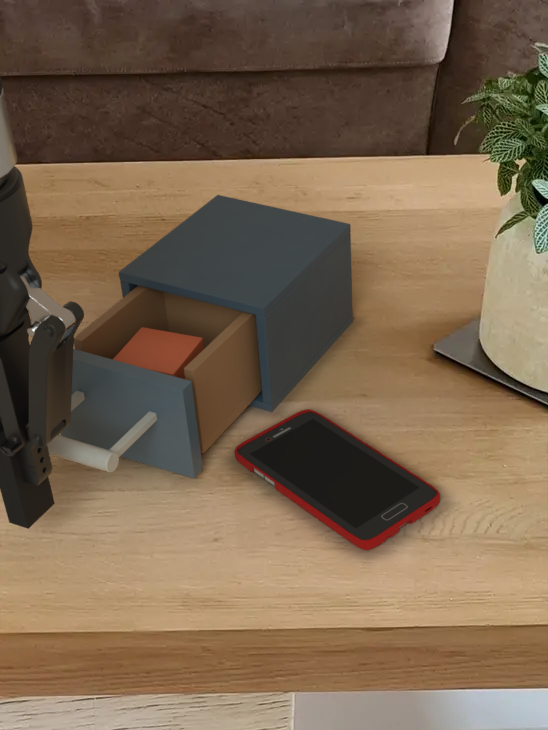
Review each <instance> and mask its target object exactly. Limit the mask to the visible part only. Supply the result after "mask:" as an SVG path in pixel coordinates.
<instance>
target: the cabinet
mask: <svg viewBox="0 0 548 730" xmlns="http://www.w3.org/2000/svg"><path fill="white" fill-rule="evenodd" d="M351 226H352V225H351V223H349V222H348V223H347V222H343V221H338V220H334V219H330V218H324V217H321V216H315V215H312V214H307V213H302V212H297V211H293V210H289V209H283V208H281V207H275V206H270V205H266V204H262V203H257V202H253V201H248V200H243V199H239V198H234V197H231V196H230V197H229V196H225V195H220V194H216V195H215V196H214V197H212V198H211V200H209V201H208V202H206V203H205V204H204V205H203V206H201V207H200V208H199V209H197V210H196V211H195V212H193V213H192V214H191V215H190V216H188V217H187V218H185V220H183V221H182V222H181V223H180V224H178V225H177V226H176V227H174V228H172V230H170V231H169V232H167V234H165V235H164V236H162V238H160V239H159V240H157V242H155V243H154V244H152V246H150V247H148V248H147V249H146V250H145V251H143V252H142V253H141V254H139V255H138V256H137V257H136V258H134V259H133V260H132V261H131V262H129V263H128V264H127V265H126V266H124V267H123V268H122V269H120V270H119V271H118V278H119V281H120V282H119V283H120V289H121V294H122V298H124V297H125V296H126V295H127V294H128V293H130V292H131V291H132V290H133V289H135V288H136V287H137V286H138V285H139V286H143V287H147V288H151V289H155V290H159V291H163V292H167V293H171V294H175V295H179V296H183V297H187V298H191V299H195V300H199V301H203V302H207V303H211V304H215V305H219V306H223V307H227V308H231V309H235V310H239V311H243V312H247V313H251V314H255V315H256V326H257V337H258V349H259V361H260V373H261V384H262V391H261V392H260V393H259V394H258V396H257V397H256V398H255V399H254V400H253V401H252V402H251V403H250V404H249V405H248V406H247V407H251V408H255V409H259V410H262V411H266V412H269V413H274V411H275V410H276V408H278V407H279V405H280V404H281V403H282V402H284V400H285V399H286V397H288V395H289V394H290V393H291V392H292V391H293V390H294V389H295V388H296V387H297V385H298V384H299V383H300V382H301V381H302V380H303V379H304V378H305V376H306V375H307V374H308V373H309V372H310V371H311V370H312V369H313V367H314V366H315V365H316V364H317V363H318V362H319V361H320V360H321V359H322V358H323V356H324V355H325V354H326V353H327V352H328V351H329V350H330V348H332V346H333V345H334V344H335V343H336V342H337V340H338V339H339V338H341V336H342V335H343V334H344V333H345V332H346V331H347V330H348V328H350V326H352V324H353V323H354V315H353V314H354V313H353V280H352V279H353V278H352V277H353V276H352V275H353V273H352V271H353V270H352V236H351V232H352V229H351Z"/></svg>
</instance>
